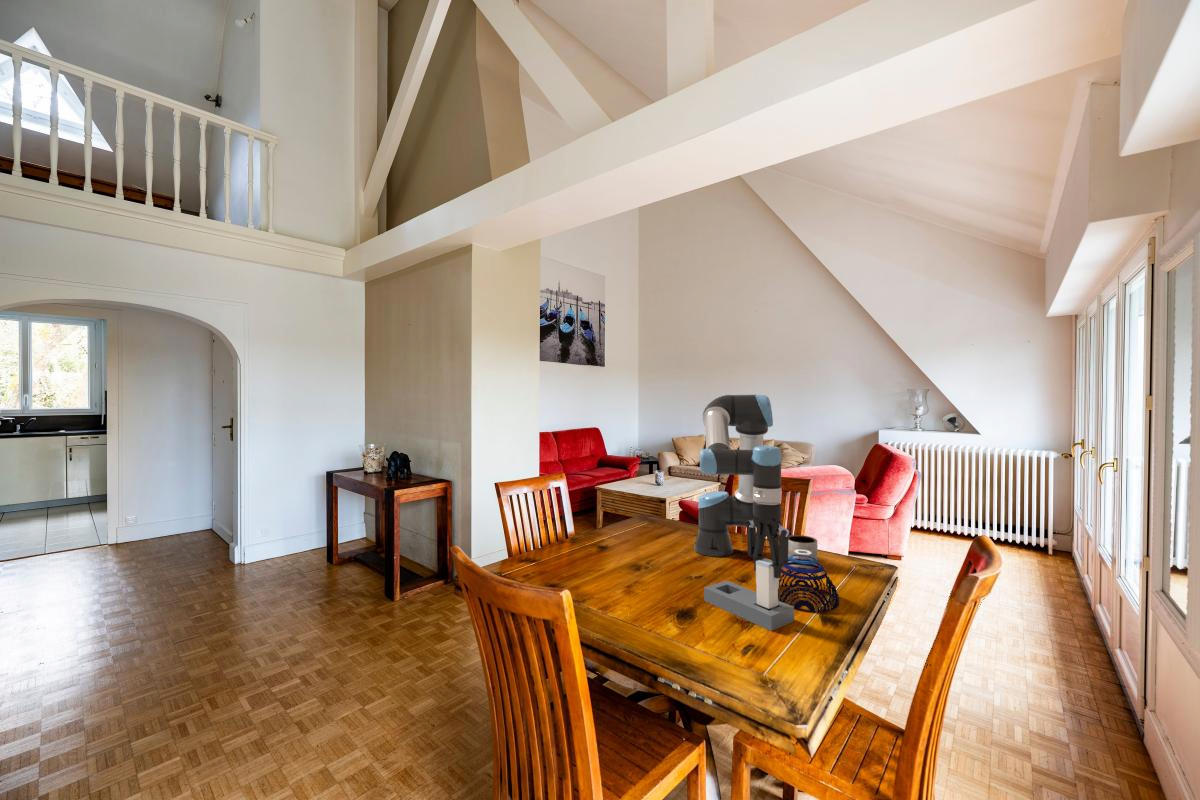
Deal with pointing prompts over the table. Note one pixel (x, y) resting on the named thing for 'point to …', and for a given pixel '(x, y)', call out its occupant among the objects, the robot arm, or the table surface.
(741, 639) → the table surface
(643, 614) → the table surface
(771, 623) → the gray socket block
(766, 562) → the plug
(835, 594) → the decorative bowl
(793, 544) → the planter
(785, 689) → the table surface
